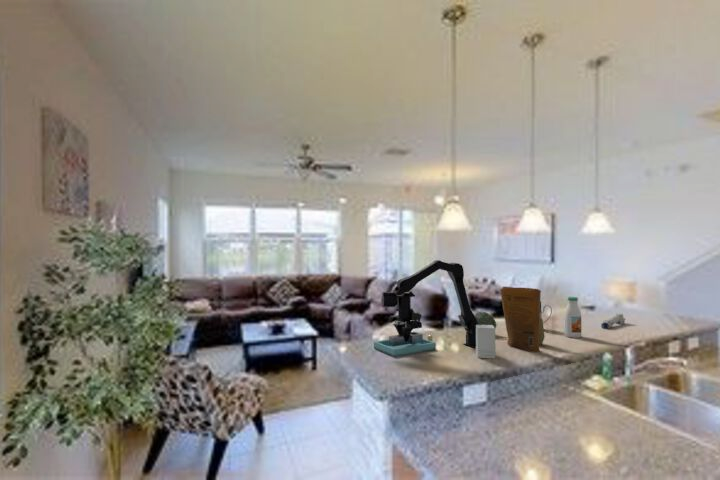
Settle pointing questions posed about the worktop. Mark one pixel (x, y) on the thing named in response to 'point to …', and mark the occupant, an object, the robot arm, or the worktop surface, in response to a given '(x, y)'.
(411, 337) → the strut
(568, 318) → the milk bottle
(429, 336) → the ball stud
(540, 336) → the squeeze bottle
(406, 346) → the bin
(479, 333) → the supplement box
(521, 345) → the pancake mix bag
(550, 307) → the glass holder
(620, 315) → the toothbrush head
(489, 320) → the vegetable
